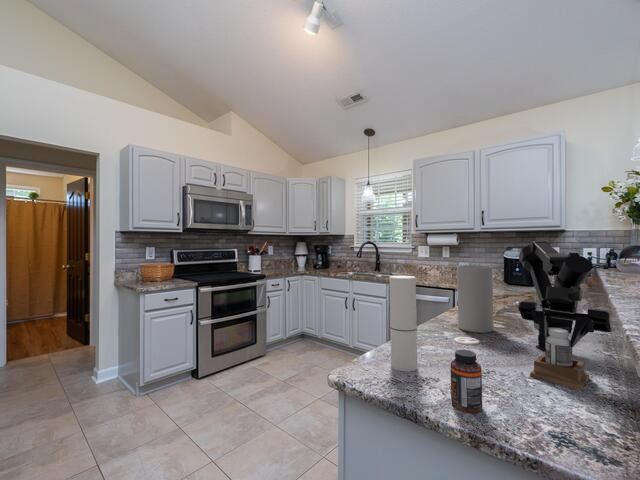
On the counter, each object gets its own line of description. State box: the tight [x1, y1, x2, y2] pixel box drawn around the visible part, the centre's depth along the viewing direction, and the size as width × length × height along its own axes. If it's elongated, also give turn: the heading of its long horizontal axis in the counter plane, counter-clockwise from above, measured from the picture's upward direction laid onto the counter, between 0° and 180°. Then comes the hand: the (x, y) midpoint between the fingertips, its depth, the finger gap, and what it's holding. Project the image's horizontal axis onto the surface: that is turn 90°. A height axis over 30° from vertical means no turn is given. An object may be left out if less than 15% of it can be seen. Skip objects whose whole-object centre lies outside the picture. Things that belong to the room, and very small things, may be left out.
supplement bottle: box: [450, 349, 483, 414], centre depth 64 cm, size 6×6×11 cm
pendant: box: [453, 336, 486, 346], centre depth 106 cm, size 7×11×1 cm, turn 94°
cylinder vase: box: [456, 264, 495, 334], centre depth 121 cm, size 12×12×25 cm
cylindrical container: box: [388, 275, 418, 372], centre depth 85 cm, size 7×7×25 cm
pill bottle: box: [545, 328, 573, 369], centre depth 77 cm, size 5×5×10 cm
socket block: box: [529, 352, 590, 391], centre depth 77 cm, size 10×10×4 cm
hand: (557, 343), depth 76 cm, fingers closed on pill bottle, 5 cm apart
